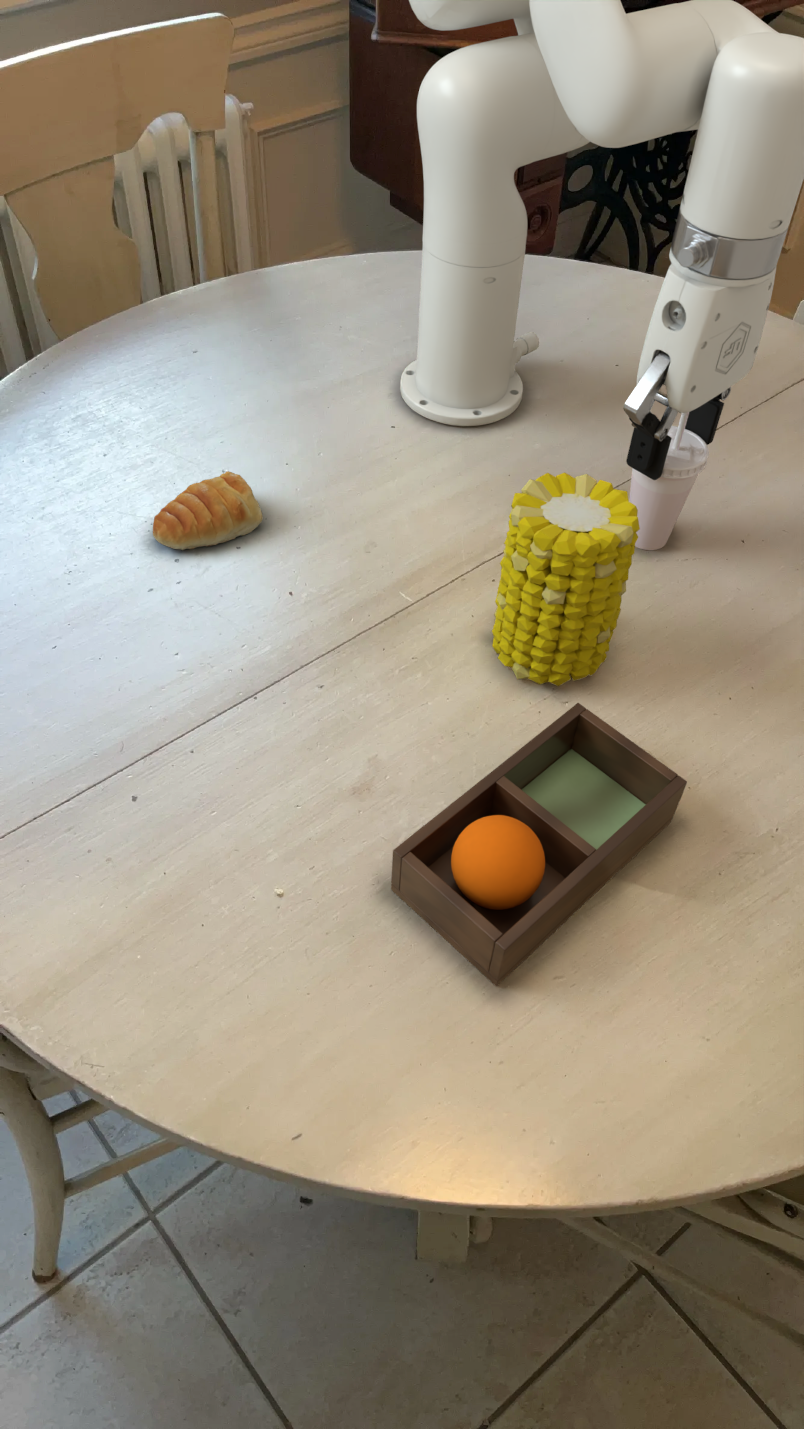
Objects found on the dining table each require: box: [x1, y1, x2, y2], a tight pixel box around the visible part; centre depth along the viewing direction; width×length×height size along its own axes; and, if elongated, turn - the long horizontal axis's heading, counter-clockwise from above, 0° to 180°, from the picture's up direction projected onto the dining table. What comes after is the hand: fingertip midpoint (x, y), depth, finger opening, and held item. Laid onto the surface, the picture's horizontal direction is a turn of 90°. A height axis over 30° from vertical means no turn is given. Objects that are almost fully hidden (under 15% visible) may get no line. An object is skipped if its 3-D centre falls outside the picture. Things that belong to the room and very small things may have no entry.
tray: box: [390, 702, 688, 987], centre depth 70 cm, size 10×18×5 cm, turn 134°
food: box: [491, 472, 640, 687], centre depth 80 cm, size 15×12×10 cm
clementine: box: [451, 815, 545, 910], centre depth 67 cm, size 6×6×6 cm
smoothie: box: [628, 412, 710, 551], centre depth 89 cm, size 6×6×14 cm
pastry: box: [152, 470, 264, 551], centre depth 92 cm, size 9×7×4 cm
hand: (669, 452), depth 88 cm, fingers closed on smoothie, 6 cm apart
